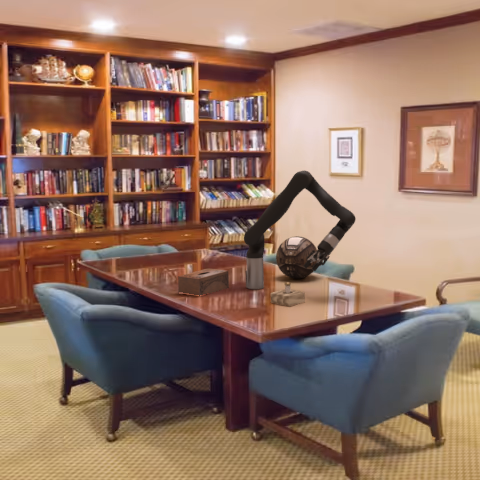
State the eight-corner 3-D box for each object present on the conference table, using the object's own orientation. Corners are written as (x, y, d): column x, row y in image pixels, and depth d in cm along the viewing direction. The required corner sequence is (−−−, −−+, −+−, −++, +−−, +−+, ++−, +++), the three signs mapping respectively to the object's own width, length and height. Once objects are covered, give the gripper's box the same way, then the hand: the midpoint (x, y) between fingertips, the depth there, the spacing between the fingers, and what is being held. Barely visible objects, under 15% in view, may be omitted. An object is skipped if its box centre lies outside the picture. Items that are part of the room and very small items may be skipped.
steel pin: (283, 302, 301) (283, 282, 299) (287, 301, 303) (287, 281, 302) (288, 303, 299) (288, 283, 297) (292, 302, 301) (292, 282, 299)
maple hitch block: (270, 302, 301) (270, 292, 300) (286, 298, 309) (286, 288, 309) (289, 306, 292) (289, 296, 292) (304, 301, 301) (304, 292, 300)
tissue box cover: (199, 297, 317) (198, 278, 315) (178, 294, 325) (177, 276, 324) (228, 288, 337) (228, 270, 336) (208, 285, 346) (208, 268, 344)
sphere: (324, 275, 365) (323, 234, 361) (311, 283, 342) (310, 240, 339) (285, 273, 375) (284, 233, 372) (270, 281, 353) (269, 238, 349)
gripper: (316, 238, 312) (297, 261, 309) (331, 241, 299) (311, 266, 296) (325, 247, 315) (306, 271, 312) (340, 251, 302) (320, 275, 299)
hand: (308, 268), depth 304 cm, fingers open, 8 cm apart
